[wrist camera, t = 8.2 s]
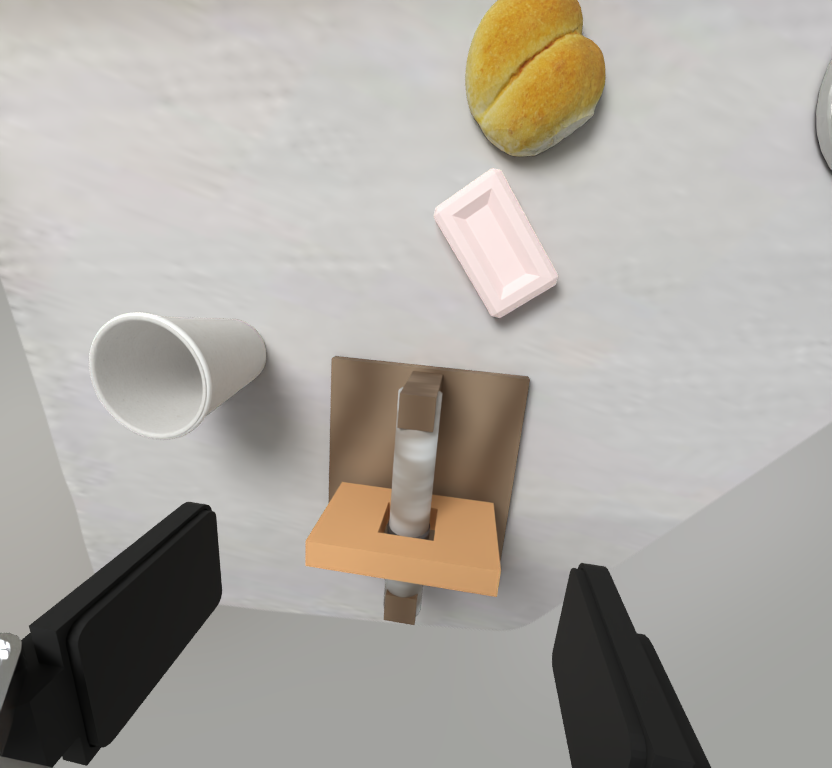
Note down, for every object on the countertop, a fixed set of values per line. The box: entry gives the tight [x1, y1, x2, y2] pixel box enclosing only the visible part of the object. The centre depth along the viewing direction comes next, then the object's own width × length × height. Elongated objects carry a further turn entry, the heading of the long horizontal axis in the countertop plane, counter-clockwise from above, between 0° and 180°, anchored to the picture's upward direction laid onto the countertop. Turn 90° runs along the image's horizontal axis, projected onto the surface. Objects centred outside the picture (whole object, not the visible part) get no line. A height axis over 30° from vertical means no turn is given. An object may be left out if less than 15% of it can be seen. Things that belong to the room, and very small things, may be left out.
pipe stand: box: [329, 356, 530, 625], centre depth 32 cm, size 16×19×8 cm
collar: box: [306, 482, 501, 597], centre depth 30 cm, size 13×2×8 cm, turn 85°
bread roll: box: [465, 0, 605, 156], centre depth 25 cm, size 8×9×4 cm
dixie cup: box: [89, 312, 266, 440], centre depth 30 cm, size 8×8×10 cm
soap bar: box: [434, 168, 558, 318], centre depth 29 cm, size 5×9×2 cm, turn 32°
